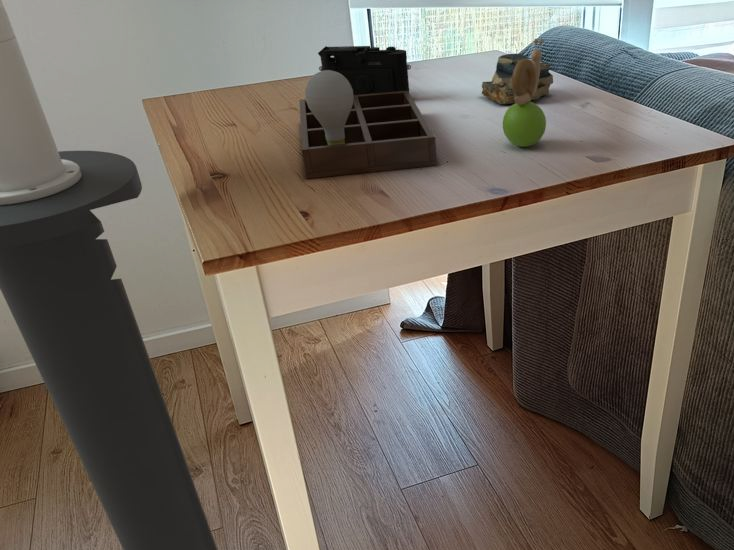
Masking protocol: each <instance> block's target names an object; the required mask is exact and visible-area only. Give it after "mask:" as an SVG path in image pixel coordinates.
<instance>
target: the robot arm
mask: <svg viewBox="0 0 734 550" xmlns="http://www.w3.org/2000/svg"><path fill="white" fill-rule="evenodd" d="M57 147H58V146H57V144H56V142H55V139H54V136H53V134H52V131H51V128H50V126H49V123H48V120H47V117H46V114H45V112H44V108H43V107H42V104H41V102H40V99H39V96H38V93H37V91H36V88H35V85H34V83H33V80H32V77H31V74H30V72H29V69H28V65H27V63H26V60H25V58H24V55H23V52H22V50H21V47H20V45H19V42H18V39H17V36H16V34H15V31H14V28H13V26H12V23H11V21H10V18H9V15H8V12H7V11H6V8H5V5H4V3H3V1H2V0H0V206H2V205H11V204H18V203H24V202H28V201H33V200H37V199H41V198H44V197H48V196H51V195H54V194H56V193H59V192H61V191H64V190H66V189H68V188H70V187H71V186H73V185H74V184H76V183H77V182H78V181H79V180H80V178H81V176H82V174H81V171H80V167H79V166H78V165H77V164H76V163H74V162H72V161H69V160H63V159H61V158H60V155H59V153H58V152H59V150H58V148H57Z"/></svg>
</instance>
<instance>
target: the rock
mask: <svg viewBox="0 0 734 550" xmlns="http://www.w3.org/2000/svg"><path fill="white" fill-rule="evenodd" d="M522 59H529V60H530V61H531V62H532V59H531V57H529V56H526V55H525V54H521V53H507V54H501V55H500V56H498V59H497V62H496V67H495V72H494V74H493V75H492V78H491V81H482V83H481V90H482V91H481V95H482V96H483V97H486V98H487V99H489V100H491V101H492V102H495V103H497V104H499V105H509V104H515V103H516V102H515V100H514V98H515V97H516V95H515V93H514V92H513V89H512V75H513V71H514V68H515V66H516V65H517V63H518V62H519V61H520V60H522ZM550 70H551V64H550V63H549V62H548V61H542V60H541V61H540V75H539V80H538V85H537V90H536V92H535V94H534V96H533V97H532V99H531V100H535V101H537V100H539V99H540V98H541V97H543V96H547V95H549V93H550V87H551V85H552V84H554V75H553V74H552V73H551V72H550ZM531 100H530V101H531Z"/></svg>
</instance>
